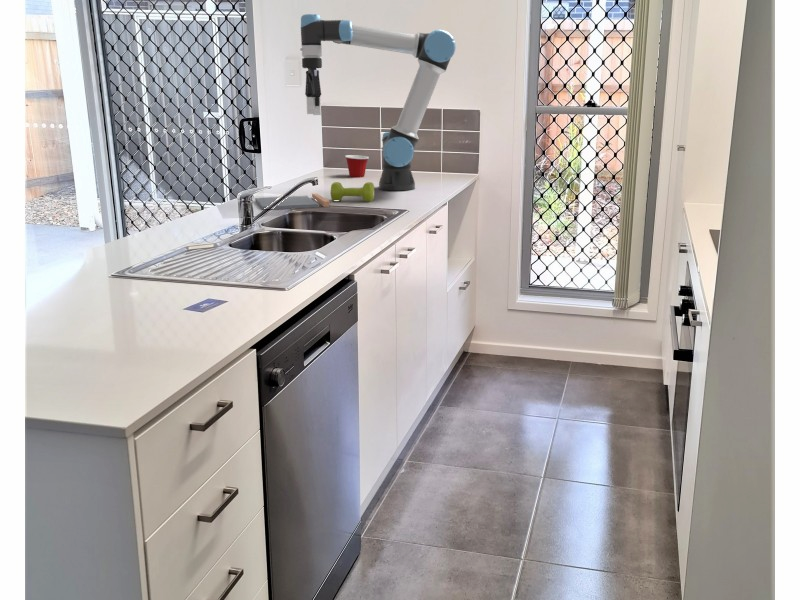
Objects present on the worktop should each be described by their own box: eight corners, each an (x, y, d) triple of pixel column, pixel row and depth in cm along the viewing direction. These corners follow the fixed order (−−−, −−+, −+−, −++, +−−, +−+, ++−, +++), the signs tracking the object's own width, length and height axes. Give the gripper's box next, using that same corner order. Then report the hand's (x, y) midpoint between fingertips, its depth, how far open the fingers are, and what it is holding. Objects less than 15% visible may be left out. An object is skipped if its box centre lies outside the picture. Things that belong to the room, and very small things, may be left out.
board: (307, 198, 306) (307, 195, 305) (318, 207, 283) (318, 204, 283) (255, 201, 300) (255, 198, 300) (263, 210, 278) (262, 206, 278)
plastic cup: (363, 183, 353) (362, 156, 350) (341, 183, 357) (341, 156, 354) (373, 181, 363) (372, 155, 359) (352, 180, 367) (351, 154, 364)
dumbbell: (375, 200, 302) (375, 181, 300) (372, 203, 294) (371, 183, 292) (334, 199, 304) (333, 181, 302) (329, 202, 297) (328, 183, 295)
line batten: (317, 198, 307) (317, 193, 306) (329, 206, 285) (329, 201, 284) (312, 198, 306) (312, 193, 306) (324, 207, 284) (323, 201, 283)
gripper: (296, 58, 310) (298, 113, 316) (307, 56, 287) (309, 115, 293) (315, 58, 312) (317, 113, 318) (327, 56, 289) (329, 115, 295)
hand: (313, 114), depth 305 cm, fingers open, 13 cm apart
